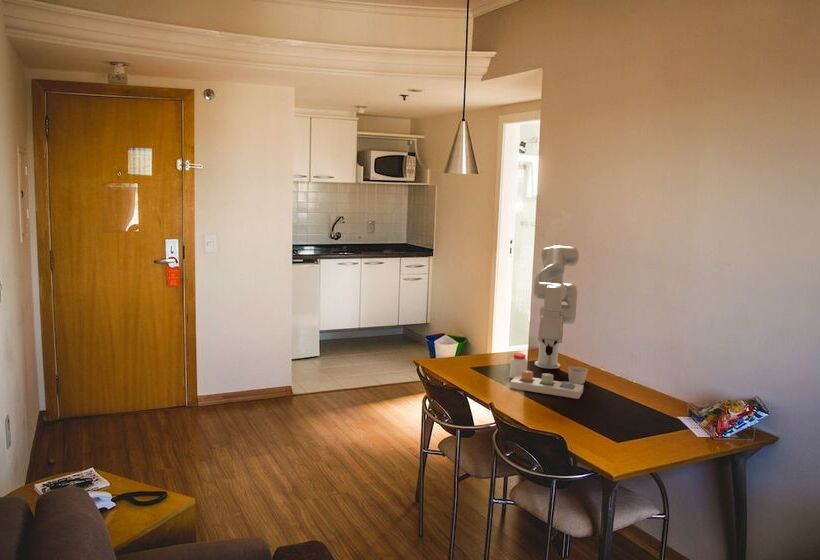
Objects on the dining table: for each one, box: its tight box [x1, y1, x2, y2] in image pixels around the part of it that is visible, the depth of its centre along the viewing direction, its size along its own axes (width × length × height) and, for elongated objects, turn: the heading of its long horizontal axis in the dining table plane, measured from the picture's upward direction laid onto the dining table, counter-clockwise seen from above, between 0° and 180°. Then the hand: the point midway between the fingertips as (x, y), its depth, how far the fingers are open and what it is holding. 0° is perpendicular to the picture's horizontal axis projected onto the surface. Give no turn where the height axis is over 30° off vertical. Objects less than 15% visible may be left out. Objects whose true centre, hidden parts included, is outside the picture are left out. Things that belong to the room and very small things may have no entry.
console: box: [509, 375, 585, 400], centre depth 301 cm, size 12×30×3 cm, turn 68°
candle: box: [567, 365, 589, 385], centre depth 315 cm, size 9×9×6 cm
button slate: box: [561, 381, 574, 389], centre depth 297 cm, size 5×5×4 cm
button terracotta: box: [521, 369, 534, 382], centre depth 304 cm, size 5×5×4 cm
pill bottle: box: [509, 352, 529, 380], centre depth 318 cm, size 8×8×11 cm
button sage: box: [541, 373, 554, 385], centre depth 300 cm, size 5×5×4 cm
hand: (548, 354), depth 299 cm, fingers closed
